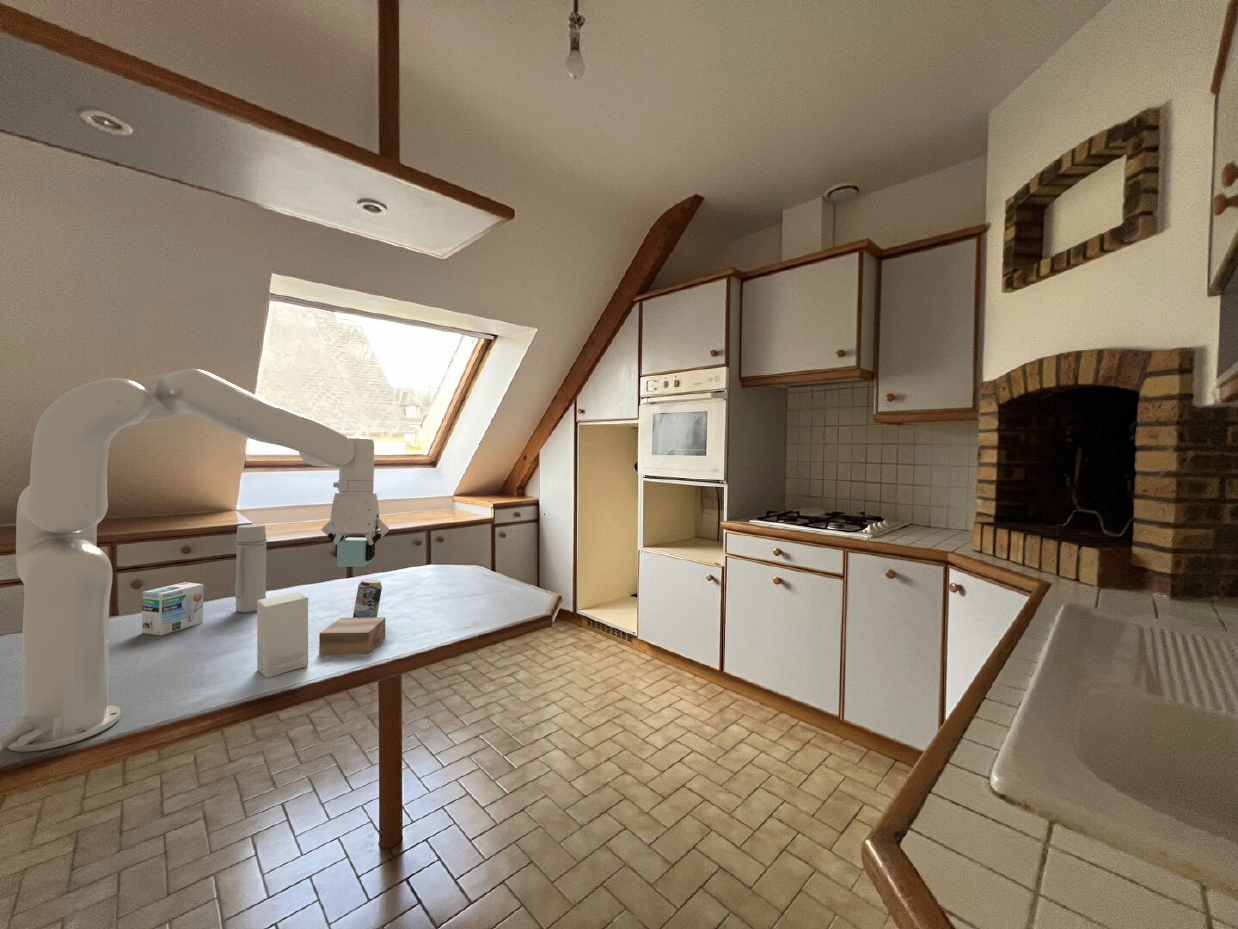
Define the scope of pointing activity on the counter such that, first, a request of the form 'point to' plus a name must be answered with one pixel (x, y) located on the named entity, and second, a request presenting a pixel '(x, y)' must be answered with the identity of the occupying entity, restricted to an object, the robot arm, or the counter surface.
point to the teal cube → (352, 552)
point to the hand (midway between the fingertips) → (355, 559)
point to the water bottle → (250, 567)
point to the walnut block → (352, 635)
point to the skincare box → (282, 634)
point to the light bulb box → (172, 608)
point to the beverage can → (367, 599)
